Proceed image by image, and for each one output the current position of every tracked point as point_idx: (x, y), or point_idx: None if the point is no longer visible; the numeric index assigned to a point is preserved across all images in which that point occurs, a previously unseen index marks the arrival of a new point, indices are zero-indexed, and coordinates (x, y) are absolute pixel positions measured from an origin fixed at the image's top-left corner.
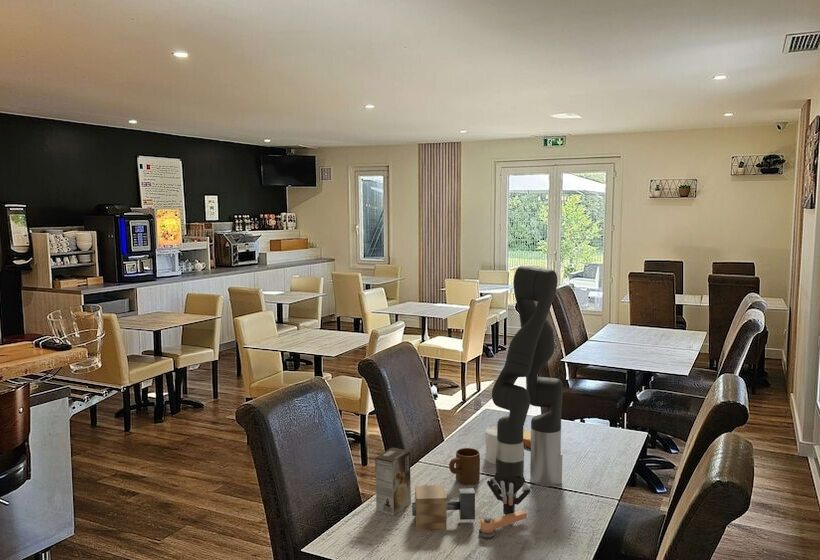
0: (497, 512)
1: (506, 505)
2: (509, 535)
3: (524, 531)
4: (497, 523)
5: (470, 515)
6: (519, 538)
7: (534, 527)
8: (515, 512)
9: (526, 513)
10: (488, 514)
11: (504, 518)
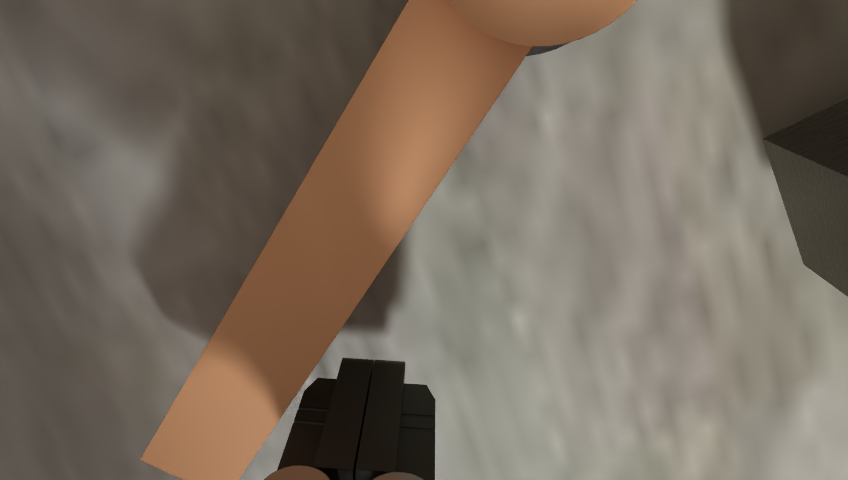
0: (539, 459)
1: (374, 459)
2: (250, 52)
3: (140, 217)
4: (391, 34)
5: None
6: (114, 34)
7: (90, 335)
8: (266, 416)
9: (145, 451)
10: (619, 394)
11: (336, 208)
